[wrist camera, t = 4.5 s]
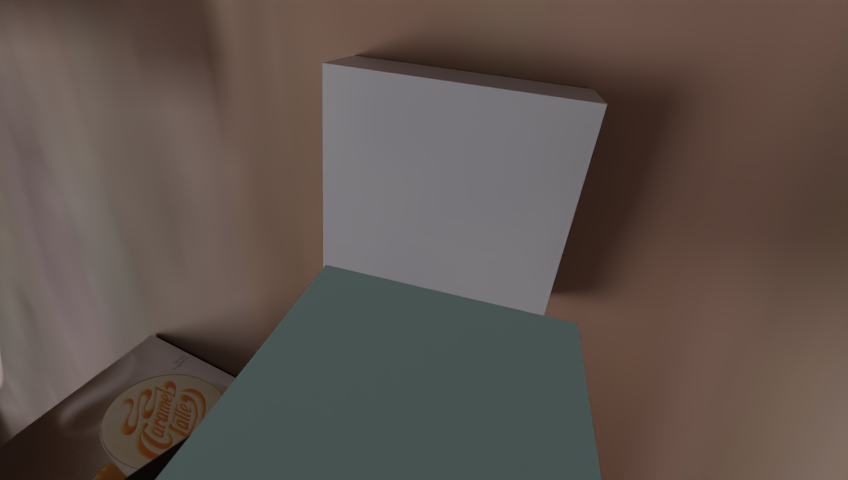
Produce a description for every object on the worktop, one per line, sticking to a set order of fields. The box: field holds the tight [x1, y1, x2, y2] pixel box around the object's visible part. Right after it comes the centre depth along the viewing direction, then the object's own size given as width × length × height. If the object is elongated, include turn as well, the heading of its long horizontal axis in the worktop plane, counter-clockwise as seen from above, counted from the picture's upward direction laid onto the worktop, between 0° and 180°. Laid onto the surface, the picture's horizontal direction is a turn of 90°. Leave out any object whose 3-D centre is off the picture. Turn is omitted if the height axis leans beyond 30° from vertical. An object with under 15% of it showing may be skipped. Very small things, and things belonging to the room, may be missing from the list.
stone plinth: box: [323, 55, 607, 316], centre depth 17 cm, size 9×9×3 cm
